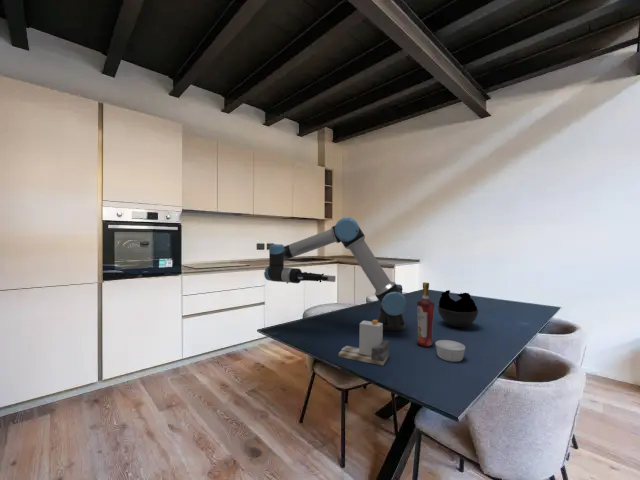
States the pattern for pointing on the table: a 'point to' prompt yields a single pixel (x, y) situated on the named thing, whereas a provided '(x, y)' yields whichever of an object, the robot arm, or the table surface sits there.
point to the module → (370, 336)
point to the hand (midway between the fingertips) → (334, 278)
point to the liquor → (425, 318)
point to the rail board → (377, 356)
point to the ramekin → (450, 350)
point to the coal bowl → (457, 310)
